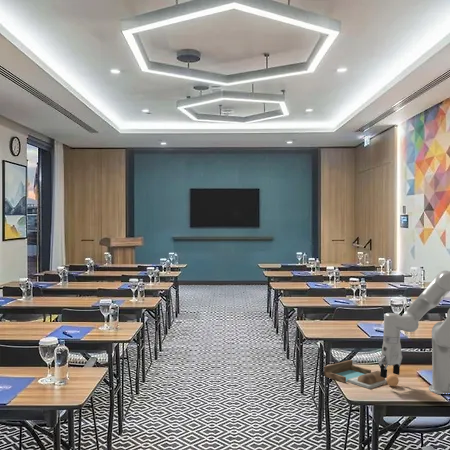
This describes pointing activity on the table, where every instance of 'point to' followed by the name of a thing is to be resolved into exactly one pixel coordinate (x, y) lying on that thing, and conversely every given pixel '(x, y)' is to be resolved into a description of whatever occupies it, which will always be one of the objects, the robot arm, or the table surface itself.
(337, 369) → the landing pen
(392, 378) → the ball
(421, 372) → the table surface
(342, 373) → the mat
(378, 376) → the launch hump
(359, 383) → the grey base plate
